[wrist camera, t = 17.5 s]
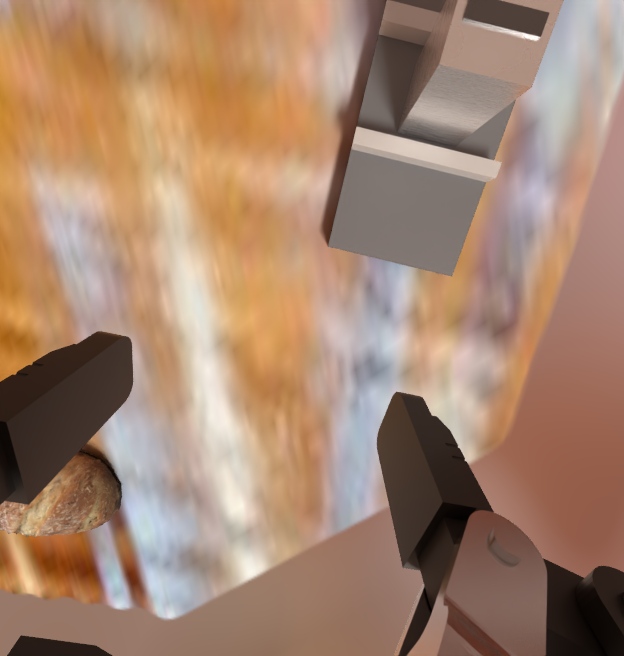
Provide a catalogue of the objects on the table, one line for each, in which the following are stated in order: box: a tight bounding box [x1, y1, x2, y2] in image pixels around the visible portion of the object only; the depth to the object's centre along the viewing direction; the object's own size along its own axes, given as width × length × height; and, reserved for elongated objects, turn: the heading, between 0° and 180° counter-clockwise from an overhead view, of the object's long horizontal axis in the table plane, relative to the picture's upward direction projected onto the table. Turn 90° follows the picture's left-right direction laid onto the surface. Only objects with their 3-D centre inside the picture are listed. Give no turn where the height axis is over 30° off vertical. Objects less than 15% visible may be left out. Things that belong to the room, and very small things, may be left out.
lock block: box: [397, 0, 564, 146], centre depth 20 cm, size 5×5×10 cm
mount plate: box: [328, 0, 516, 276], centre depth 25 cm, size 12×26×4 cm, turn 167°
